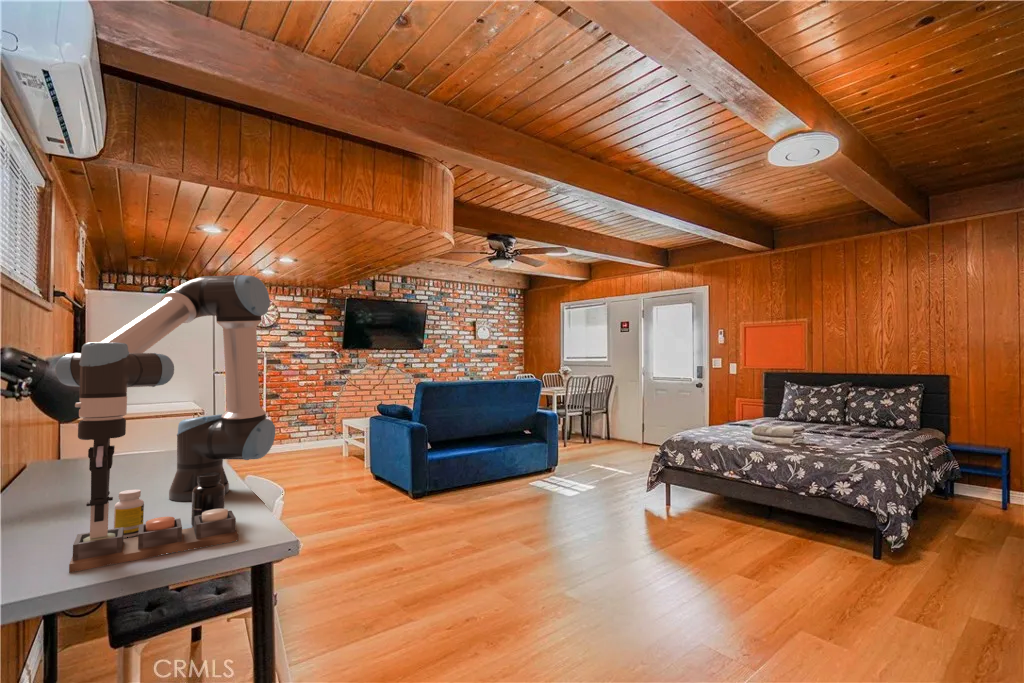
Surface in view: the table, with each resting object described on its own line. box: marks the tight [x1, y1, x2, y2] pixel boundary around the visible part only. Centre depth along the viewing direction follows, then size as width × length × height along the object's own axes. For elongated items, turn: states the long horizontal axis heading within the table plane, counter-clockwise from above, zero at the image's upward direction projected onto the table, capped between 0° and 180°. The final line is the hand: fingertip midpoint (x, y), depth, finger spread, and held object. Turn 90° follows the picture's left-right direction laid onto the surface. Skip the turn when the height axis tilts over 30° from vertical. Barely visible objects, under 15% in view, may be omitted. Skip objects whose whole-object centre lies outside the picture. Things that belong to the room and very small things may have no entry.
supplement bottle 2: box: [190, 472, 226, 528], centre depth 122 cm, size 7×7×12 cm
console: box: [68, 510, 239, 573], centre depth 107 cm, size 28×11×4 cm, turn 126°
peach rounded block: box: [202, 508, 229, 523], centre depth 112 cm, size 5×5×2 cm
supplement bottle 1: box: [113, 489, 145, 539], centre depth 115 cm, size 5×5×10 cm
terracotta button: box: [145, 516, 176, 532], centre depth 107 cm, size 5×5×2 cm
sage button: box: [83, 533, 115, 542], centre depth 101 cm, size 5×5×2 cm
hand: (98, 536), depth 101 cm, fingers closed
